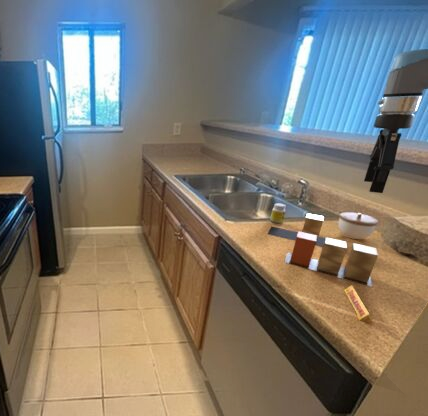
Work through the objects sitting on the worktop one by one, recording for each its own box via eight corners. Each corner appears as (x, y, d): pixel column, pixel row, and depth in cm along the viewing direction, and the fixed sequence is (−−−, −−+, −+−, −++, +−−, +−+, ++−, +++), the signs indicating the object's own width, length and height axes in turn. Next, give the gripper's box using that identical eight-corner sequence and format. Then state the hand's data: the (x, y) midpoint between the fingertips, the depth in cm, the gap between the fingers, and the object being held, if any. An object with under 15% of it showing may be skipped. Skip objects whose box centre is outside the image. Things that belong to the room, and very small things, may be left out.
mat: (325, 238, 104) (325, 238, 103) (324, 248, 97) (324, 247, 97) (271, 226, 114) (271, 226, 114) (267, 234, 108) (267, 234, 107)
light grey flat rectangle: (369, 274, 82) (369, 273, 82) (372, 287, 76) (372, 286, 76) (287, 252, 94) (287, 252, 94) (284, 263, 89) (284, 262, 89)
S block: (309, 260, 90) (317, 235, 86) (308, 266, 86) (316, 241, 83) (291, 255, 92) (298, 231, 89) (290, 261, 89) (296, 236, 86)
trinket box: (345, 228, 111) (352, 206, 108) (378, 239, 102) (386, 216, 99) (327, 232, 108) (334, 210, 105) (359, 245, 99) (368, 221, 95)
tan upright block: (337, 267, 85) (346, 241, 82) (337, 274, 82) (347, 248, 79) (317, 262, 88) (325, 237, 85) (317, 269, 85) (325, 243, 81)
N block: (365, 274, 82) (376, 248, 78) (367, 282, 78) (378, 255, 75) (344, 268, 84) (353, 243, 81) (344, 276, 81) (353, 249, 78)
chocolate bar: (355, 292, 74) (357, 286, 74) (373, 323, 64) (376, 315, 64) (343, 290, 75) (345, 283, 75) (358, 319, 65) (361, 312, 65)
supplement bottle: (282, 226, 114) (287, 207, 111) (269, 224, 117) (273, 205, 114) (282, 222, 118) (286, 203, 115) (269, 220, 121) (273, 202, 117)
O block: (317, 238, 103) (323, 216, 100) (316, 243, 100) (323, 220, 97) (301, 234, 106) (307, 213, 103) (299, 239, 103) (305, 217, 99)
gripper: (371, 112, 88) (352, 176, 95) (385, 115, 69) (360, 195, 77) (405, 111, 83) (382, 179, 91) (428, 115, 65) (398, 199, 72)
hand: (372, 186), depth 84 cm, fingers open, 13 cm apart
